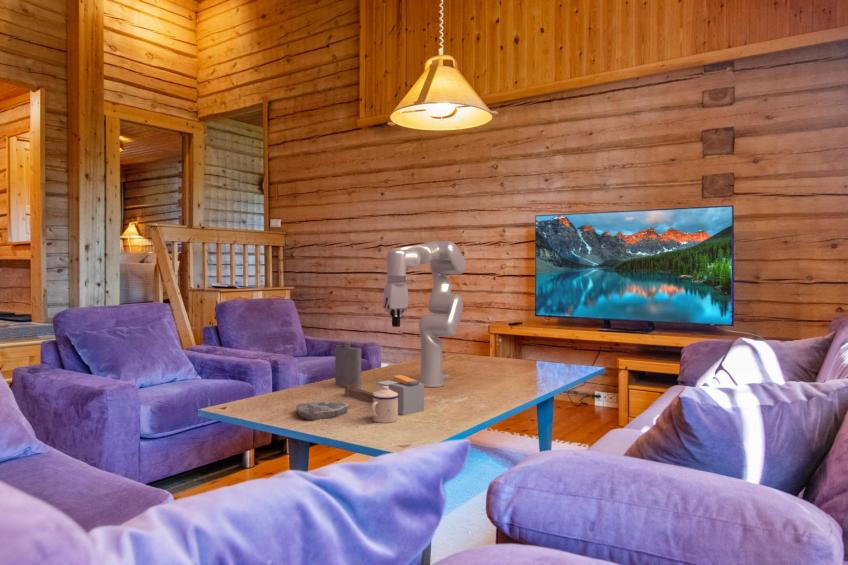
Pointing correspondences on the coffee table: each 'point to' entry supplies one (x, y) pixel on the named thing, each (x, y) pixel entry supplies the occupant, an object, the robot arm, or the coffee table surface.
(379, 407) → the teacup with lid
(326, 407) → the brain slice
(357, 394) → the rail
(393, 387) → the cabinet
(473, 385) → the coffee table surface
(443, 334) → the robot arm
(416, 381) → the lever
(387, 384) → the block
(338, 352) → the hip flask
